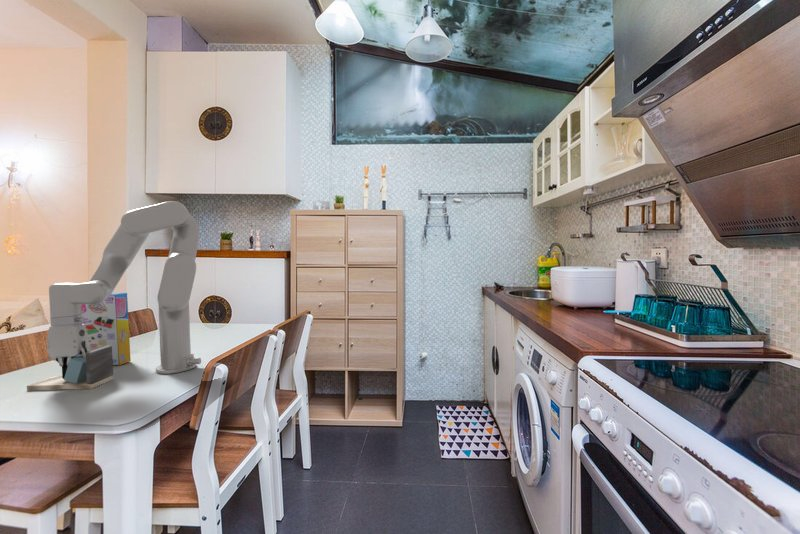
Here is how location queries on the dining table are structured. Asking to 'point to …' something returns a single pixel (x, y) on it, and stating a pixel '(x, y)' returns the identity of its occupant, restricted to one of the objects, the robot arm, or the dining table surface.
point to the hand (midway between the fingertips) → (69, 377)
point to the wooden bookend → (96, 369)
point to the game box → (109, 326)
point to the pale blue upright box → (76, 370)
